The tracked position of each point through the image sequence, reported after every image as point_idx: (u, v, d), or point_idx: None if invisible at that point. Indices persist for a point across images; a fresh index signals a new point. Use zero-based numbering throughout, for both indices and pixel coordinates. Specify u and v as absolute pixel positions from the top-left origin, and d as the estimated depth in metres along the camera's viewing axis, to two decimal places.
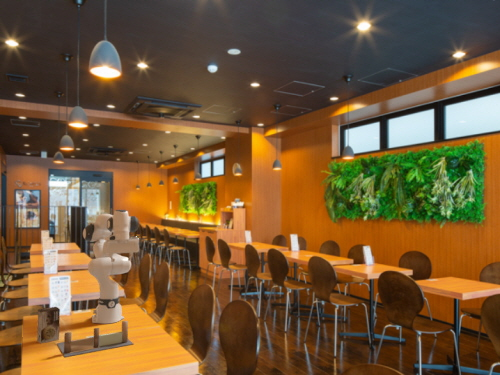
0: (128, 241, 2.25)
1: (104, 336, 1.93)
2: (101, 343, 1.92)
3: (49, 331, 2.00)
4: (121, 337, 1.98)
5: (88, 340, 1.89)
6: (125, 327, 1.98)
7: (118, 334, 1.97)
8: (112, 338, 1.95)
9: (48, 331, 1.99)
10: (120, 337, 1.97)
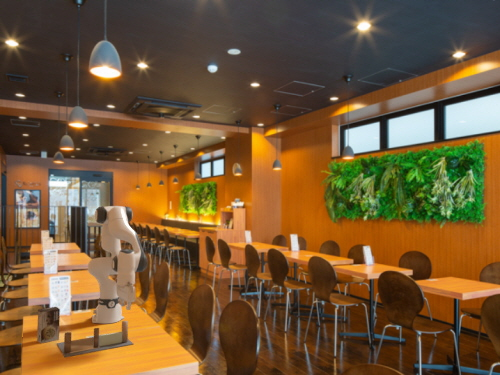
0: (124, 287, 1.97)
1: (104, 336, 1.93)
2: (101, 343, 1.92)
3: (49, 331, 2.00)
4: (121, 337, 1.98)
5: (88, 340, 1.89)
6: (125, 327, 1.98)
7: (118, 334, 1.97)
8: (112, 338, 1.95)
9: (48, 331, 1.99)
10: (120, 337, 1.97)
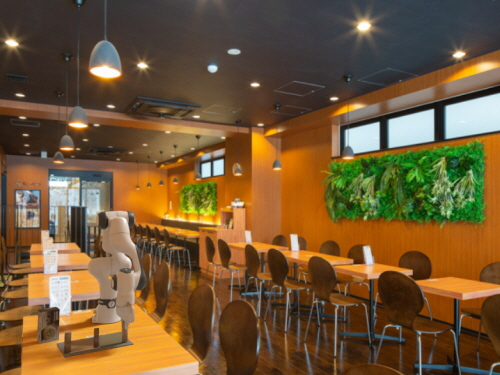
0: (124, 307, 1.96)
1: (104, 336, 1.93)
2: (101, 343, 1.92)
3: (49, 331, 2.00)
4: (121, 337, 1.98)
5: (88, 340, 1.89)
6: None
7: (118, 334, 1.97)
8: (112, 338, 1.95)
9: (48, 331, 1.99)
10: (120, 337, 1.97)
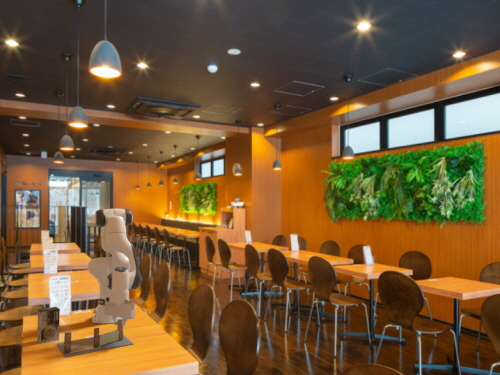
0: (122, 305, 2.00)
1: (103, 335, 1.94)
2: (101, 342, 1.93)
3: (49, 331, 2.00)
4: (118, 335, 2.01)
5: (88, 340, 1.89)
6: None
7: (115, 332, 2.00)
8: (110, 337, 1.97)
9: (48, 331, 1.99)
10: (116, 335, 2.00)
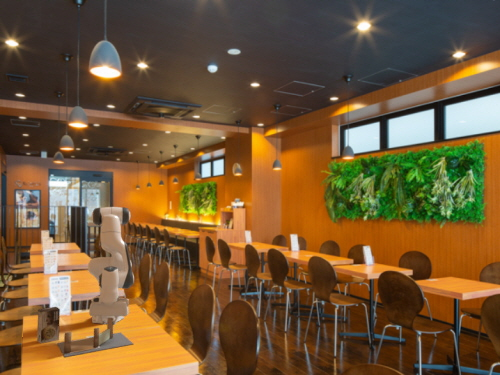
0: (115, 303, 2.04)
1: (101, 335, 1.95)
2: (99, 342, 1.93)
3: (49, 331, 2.00)
4: (109, 333, 2.03)
5: (88, 340, 1.89)
6: None
7: (108, 331, 2.02)
8: (105, 336, 1.99)
9: (48, 331, 1.99)
10: (108, 334, 2.02)
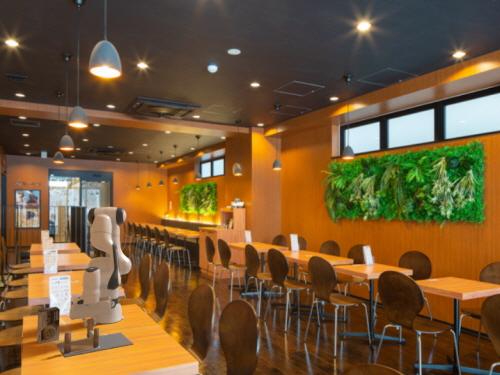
0: (98, 303, 2.04)
1: None
2: None
3: (49, 331, 2.00)
4: None
5: (88, 340, 1.89)
6: None
7: None
8: None
9: (48, 331, 1.99)
10: None
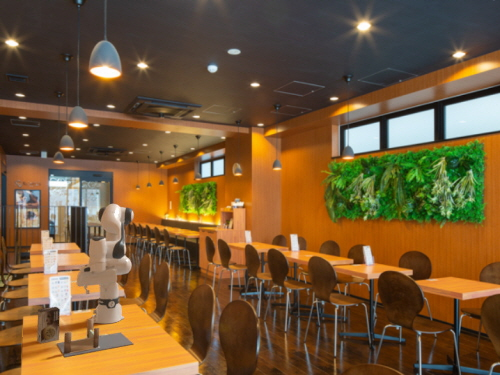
0: (105, 271, 2.08)
1: None
2: None
3: (49, 331, 2.00)
4: None
5: (88, 340, 1.89)
6: None
7: None
8: None
9: (48, 331, 1.99)
10: None
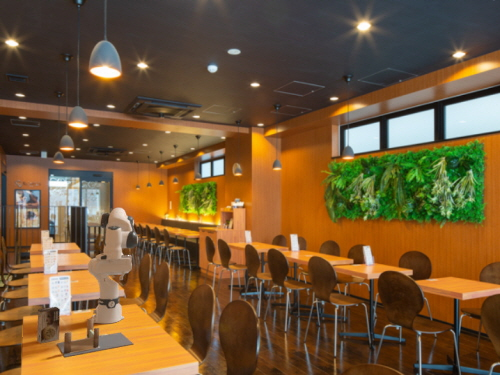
0: (120, 260, 2.16)
1: None
2: None
3: (49, 331, 2.00)
4: None
5: (88, 340, 1.89)
6: None
7: None
8: None
9: (48, 331, 1.99)
10: None
